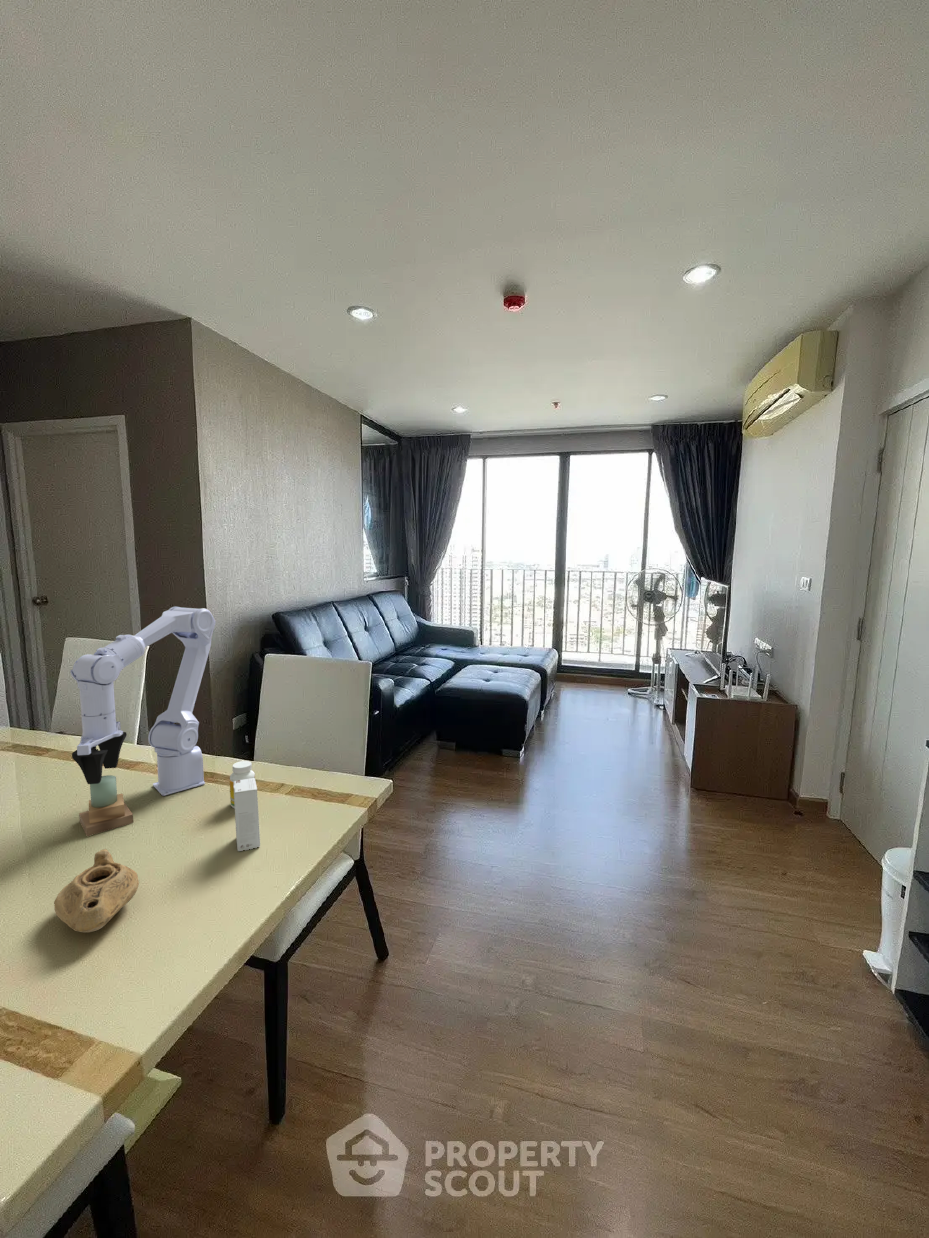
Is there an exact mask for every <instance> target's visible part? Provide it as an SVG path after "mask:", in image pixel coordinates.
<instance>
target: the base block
mask: <svg viewBox="0 0 929 1238" xmlns="http://www.w3.org/2000/svg"><path fill="white" fill-rule="evenodd" d="M124 810H125V816H121V817H117V818H112V819H108V820H104V821H100V822H95V823H91V824H90V823H89V810H86V811H82V812H79V813H78V815H79V816H78V817H79V818H78V819H79V823H80V825H81V828H82V829H83V832H84V834H85V835H86V837H87V836H88V837H91V836H95V835H98V834H101V833H104V832H108V831H110V830H115V829H117V828H118V829H119V828H121V827H123V826H127V825H130V824H133V823H134V815H133V814H134V813H133V812H132V811H131V810H130V808H129V807H128V805H127V804H126V802H125V801H124ZM92 834H93V835H92ZM94 834H95V835H94ZM90 835H91V836H90Z"/></svg>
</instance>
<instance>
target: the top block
mask: <svg viewBox="0 0 929 1238" xmlns="http://www.w3.org/2000/svg"><path fill="white" fill-rule="evenodd" d="M124 802H125V800H124V794H123V793H117V802H115V803H114V804H112V805H109V806H106V807H101V808H95V807H92V806H91V799H90V800H88V811H89V823H90V824H91V823H95V822H100V821H104V820H108V819H112V818H117V817H121V816H125V810H124Z"/></svg>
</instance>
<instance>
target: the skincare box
mask: <svg viewBox="0 0 929 1238" xmlns="http://www.w3.org/2000/svg"><path fill="white" fill-rule="evenodd" d="M233 785H234V806H235V808H234V819H235V820H234V821H235V836H236V837H235V838H236V848H237V849H236V850H237V851H238V852H243V850H245V851H249V849H250V850H254V849H253V848H255V849H258V848H257V847H259V848H260V846H261V837H260V836H261V834H260V817H259V816H260V815H259V814H260V813H259V801H258V786H257V782H256V777H255V778H249V779H243V780H238V781H234V782H233Z"/></svg>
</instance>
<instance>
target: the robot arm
mask: <svg viewBox="0 0 929 1238" xmlns="http://www.w3.org/2000/svg"><path fill="white" fill-rule="evenodd" d="M216 622H217V621H216V619H215V617H214V616H213V614H212V612H211V611H210V609H208V608H203V607H202V608H195V607H194V608H192V607H180V606H172V607H170V608H169V609H168V610H165V611H163V612H162V614H161V616H159V618H157V619H155V620H154V621H152V622H151V623H150V624H148V625H147V626H145V627H144V628H143V629H140V630H139V632H137V633H136V634H134V635H132V634H119V635H117V636H116V637H115V640H113V641H111V642H110V643H109V644H107V645H105V646H103V647H99V648H97V649H96V651H95V652H94V653H93V654H90V653H89V654H88V653H87V654H83V655H81V656H80V657H79V658H77V660H76V661H75V662H74V664H73V666H72V669H70V671H69V672H70V676H71V677H72V678H73V680H74V681H76V683H77V689H79V700H80V702H79V703H80V712H81V713H80V715H81V727H82V728H81V729H82V733H81V736H80V741H79V744H78V745H76V750H74V751H73V752H72V753H71V758H72V759H73V761H75V763H76V764H77V765H78V766H79V768H80V770H81V772H82V774H83V776H84V779H85V782H86V783H87V785H90V784H98V783H100V782H101V778H102V776H103V767H104V769H105V770H106V769H116V768H117V767H118V763H119V758H120V755H121V754H120V753H121V749H122V745H123V743H124V742H125V739H126V738H127V732H125V731H124V730H122V728H121V721H117V718H116V716H117V715H116V701H115V685H114V682H115V681H116V680H117V679H118V677H119V676H120V674H121V672H122V670H124V668H126V667H127V666H129V665H131V664H133V663H134V662H136V661H137V660H138V659H140V658H142V657H143V656H144V654H145V652H146V647H149V646H150V645H152V644H154V643H156V642H158V641H160V640H162V639H164V638H165V637H167V636H168V635H170V634H172V635H174V636H175V637H176V638H177V639H178V640H179V641H181V642H182V644H183V646H184V652H183V655H182V659H181V662H180V666H179V669H178V671H177V676H176V679H175V681H174V682H175V683H174V687H173V689H172V693H171V696H170V699H169V702H168V706H167V709H166V710H165V711H164V712H162V713H160V714H159V715H158V716H157V717H156V720H155V722H154V724H153V726H152V727H151V728H150V730H149V732H148V736H147V740H148V744H149V745H150V747H151V748H154V753H156V761H157V762H156V763H157V764H156V765H157V779H158V780H157V782H153V783H152V786H153V787H154V788H155V789H156V790H157V792H158V793H159V794H161V796H163V797H164V796H167V795H171V794H175V793H178V792H179V793H180V792H182V791H185V790H188V789H192V788H196V787H199V786H203V785H204V784H205V785H206V782H205V780H204V777H205V775H204V759H203V753H202V749H201V748H200V747H199V746H198V745H197V742H198V739H199V725H200V722H199V721H198V719H197V718H196V716H195V715H194V714H193V711H194V708H195V703H196V701H197V696H198V693H199V690H200V687H201V682H202V678H203V675H204V672H205V668H206V664H207V662H208V657H209V654H210V650H211V646H212V637H213V633H214V630H215V626H216V624H217V623H216ZM175 723H176V724H175ZM97 746H98V748H97Z"/></svg>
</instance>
